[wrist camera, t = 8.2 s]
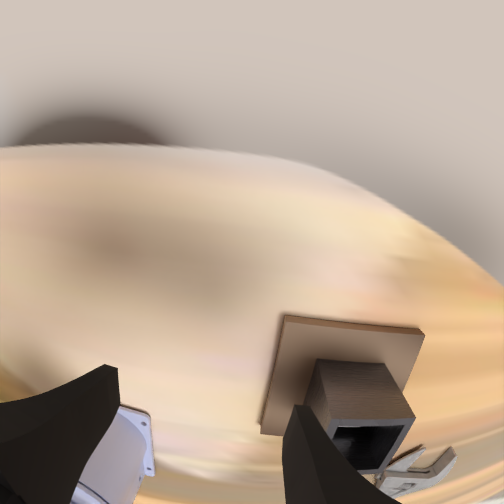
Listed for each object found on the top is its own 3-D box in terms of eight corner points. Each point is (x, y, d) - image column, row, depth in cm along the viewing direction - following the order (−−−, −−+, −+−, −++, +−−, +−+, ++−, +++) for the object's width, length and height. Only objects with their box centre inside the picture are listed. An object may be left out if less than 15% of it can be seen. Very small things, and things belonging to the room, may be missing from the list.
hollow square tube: (362, 416, 20) (382, 473, 14) (299, 413, 20) (306, 475, 14) (384, 363, 19) (416, 417, 13) (316, 358, 19) (331, 418, 13)
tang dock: (376, 430, 22) (386, 458, 18) (260, 425, 22) (259, 456, 18) (419, 329, 19) (440, 352, 16) (285, 315, 20) (288, 340, 16)
